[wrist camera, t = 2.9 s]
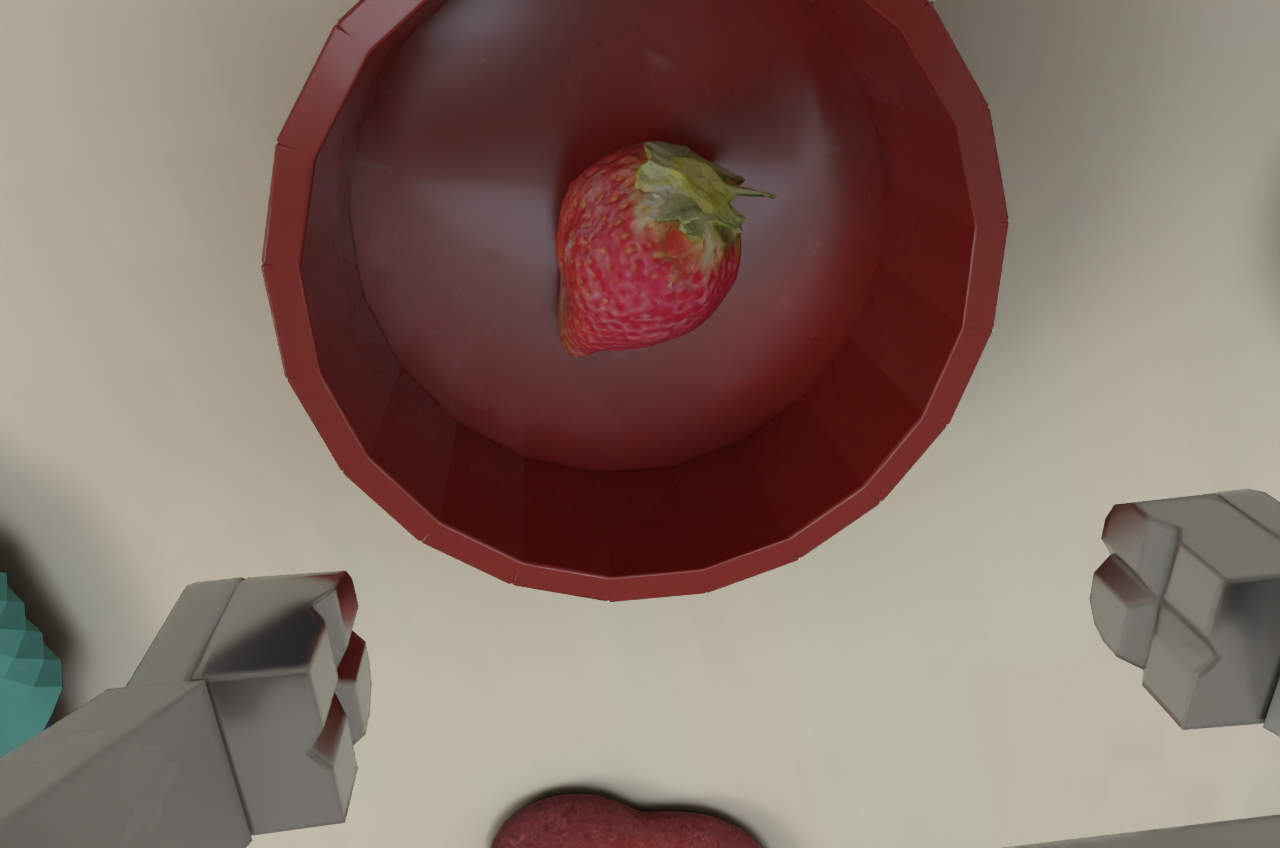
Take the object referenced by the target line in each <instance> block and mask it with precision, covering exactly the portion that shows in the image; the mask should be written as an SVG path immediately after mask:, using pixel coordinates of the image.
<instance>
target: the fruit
mask: <svg viewBox="0 0 1280 848" xmlns="http://www.w3.org/2000/svg"><path fill="white" fill-rule="evenodd" d="M744 181H745V179H744V178H743V177H741V176H738V175H736V174H734V173H732V172H730V171H729V170H727V169H725V168H723V167H720V166H717V165H716V164H714V163H713V162H710V161H708V160H706V159H705V158H703V157H701V156H699V155H698V154H696V153H695V152H693V151H692V150H691V149H690V148H689V147H688V146H683V145H676V144H672V143H667V142H661V141H648V142H643V143H640V144H636V145H633V146H628V147H623V148H620V149H617V150H615V151H613V152H610V153H608V154H606V155H604V156H603V157H602V158H601V159H599V160H598V161H597V162H595V163H594V164H592V165H591V166H589V167H588V168H587V169H586V170H584V171H583V172H582V173H581V174H580V175H579V176H578V177H577V178H576V179H575V180H573V181H572V182H571V183H570V185H569V188H568V192H567V194H566V195H565V197H564V200H563V202H562V204H561V211H560V215H559V222H558V227H557V230H556V233H555V247H556V251H555V256H556V261H557V264H558V267H559V270H560V273H561V275H560V294H559V297H558V305H557V322H558V333H559V337H560V341H561V344H562V346H563V347H564V349H565V350H566V352H567V353H569V354H570V355H572V356H574V357H587V356H589V355H591V354H593V353H595V352H597V351H620V350H625V349H628V350H631V349H639V348H644V347H649V346H653V345H656V344H660V343H663V342H666V341H668V340H672V339H675V338H678V337H680V336H682V335H684V334H687V333H689V332H691V331H694V330H695V329H696V328H697V327H699V326H700V325H702V324H703V323H704V322H705V321H706V320H707V319H709V318H710V317H711V316H712V314H713V313H714V312H715V311H716V310H717V308H718V307H719V305H720V304H721V302H722V301H723V299H724V298H725V296H726V295H727V293H728V292H729V290H730V289H731V287H732V286H733V284H734V282H735V281H736V279H737V275H738V269H739V267H740V259H741V245H742V244H741V234H740V233H741V232H743V230H742V228H741V226H742V223H741V222H745V221H747V219H746V218H745V217H744V216H743V215H742V213H740V212H738V211H736V210H735V209H734V208H733V207H732V206H731V205H730V202H731V200H733V199H734V196H735V195H743V196H754V197H769V198H771V199H774V198H776V196H775V195H772V194H769V193H766V192H760V191H756V190H753V189H750V188H746V187H740V186H739V185H740V184H742V183H744Z"/></svg>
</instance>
